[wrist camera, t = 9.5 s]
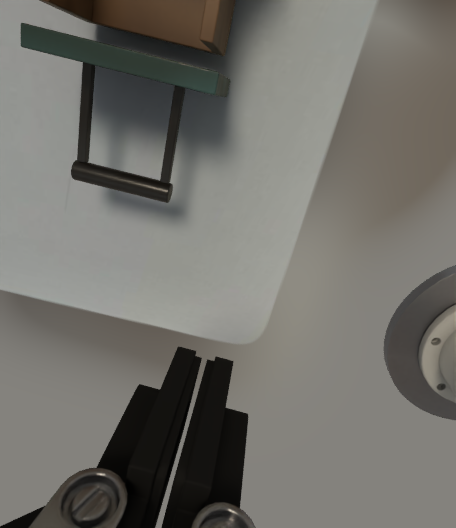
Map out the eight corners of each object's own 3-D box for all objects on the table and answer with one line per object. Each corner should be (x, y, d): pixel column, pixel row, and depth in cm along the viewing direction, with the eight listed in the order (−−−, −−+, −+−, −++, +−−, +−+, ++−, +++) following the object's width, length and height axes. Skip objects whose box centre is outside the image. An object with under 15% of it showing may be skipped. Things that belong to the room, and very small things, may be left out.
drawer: (206, 198, 30) (190, 221, 24) (70, 163, 30) (20, 179, 24) (278, -148, 22) (282, -248, 16) (89, -196, 22) (19, -315, 16)
